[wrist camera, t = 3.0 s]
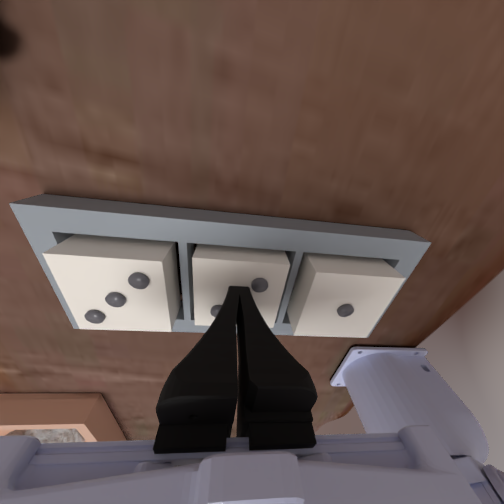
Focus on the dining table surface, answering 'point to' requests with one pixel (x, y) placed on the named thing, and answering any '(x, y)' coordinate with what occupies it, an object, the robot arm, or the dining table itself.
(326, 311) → the tile one
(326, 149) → the dining table surface
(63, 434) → the stone
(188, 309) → the board
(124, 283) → the tile three
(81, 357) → the dining table surface
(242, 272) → the tile two
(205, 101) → the dining table surface
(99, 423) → the stone dish
